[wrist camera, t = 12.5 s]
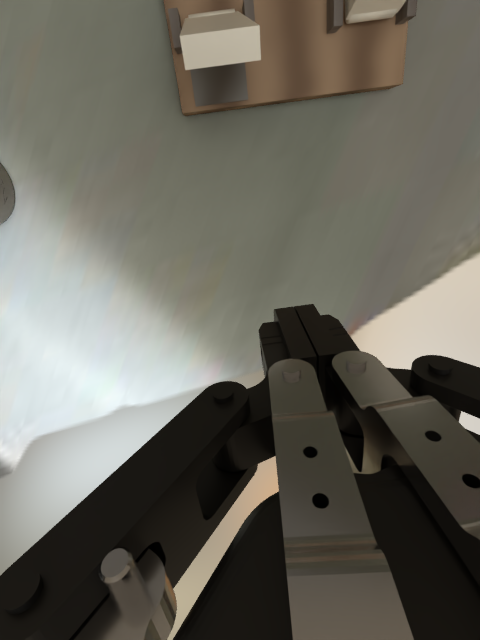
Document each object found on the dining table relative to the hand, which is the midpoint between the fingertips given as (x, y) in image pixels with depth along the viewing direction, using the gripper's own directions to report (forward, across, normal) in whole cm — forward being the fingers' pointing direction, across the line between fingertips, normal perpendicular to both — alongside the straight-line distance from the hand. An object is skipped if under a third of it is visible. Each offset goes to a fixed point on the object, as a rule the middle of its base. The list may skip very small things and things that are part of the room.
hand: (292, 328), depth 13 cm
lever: (+27, +1, -16) cm, 31 cm away
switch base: (+31, -6, -16) cm, 35 cm away
